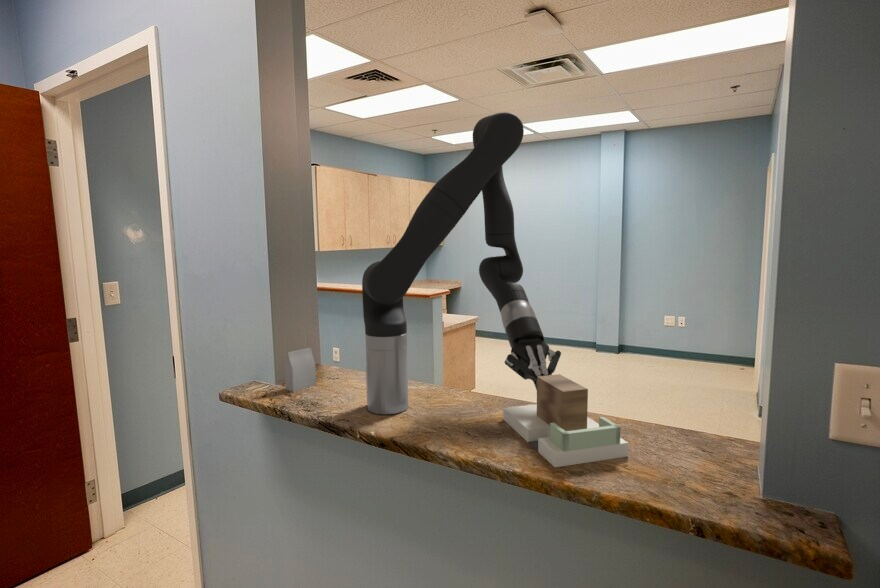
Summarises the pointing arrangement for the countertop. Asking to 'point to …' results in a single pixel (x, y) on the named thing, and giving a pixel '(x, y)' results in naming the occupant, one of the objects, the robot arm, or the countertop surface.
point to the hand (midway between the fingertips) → (546, 394)
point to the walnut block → (562, 402)
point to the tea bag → (300, 370)
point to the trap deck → (567, 438)
